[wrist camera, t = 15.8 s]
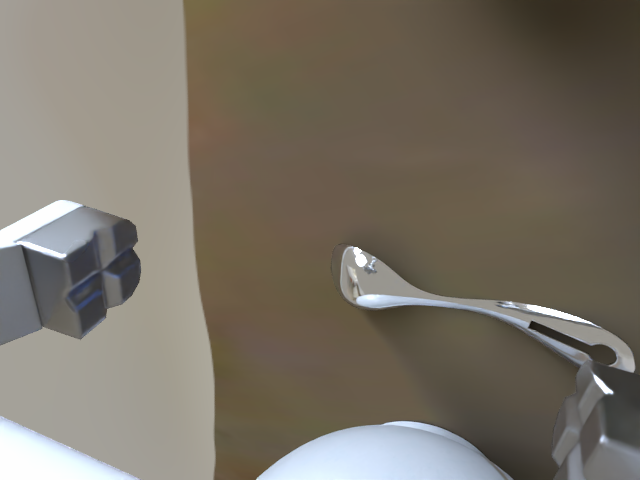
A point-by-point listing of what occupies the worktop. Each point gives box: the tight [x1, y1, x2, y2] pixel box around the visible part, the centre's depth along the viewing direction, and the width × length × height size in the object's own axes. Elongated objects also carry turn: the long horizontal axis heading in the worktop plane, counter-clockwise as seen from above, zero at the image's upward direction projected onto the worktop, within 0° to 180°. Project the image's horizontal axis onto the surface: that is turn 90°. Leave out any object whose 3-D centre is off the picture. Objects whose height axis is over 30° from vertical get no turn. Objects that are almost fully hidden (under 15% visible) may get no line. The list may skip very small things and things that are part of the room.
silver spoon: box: [331, 244, 636, 373], centre depth 33 cm, size 20×4×5 cm
